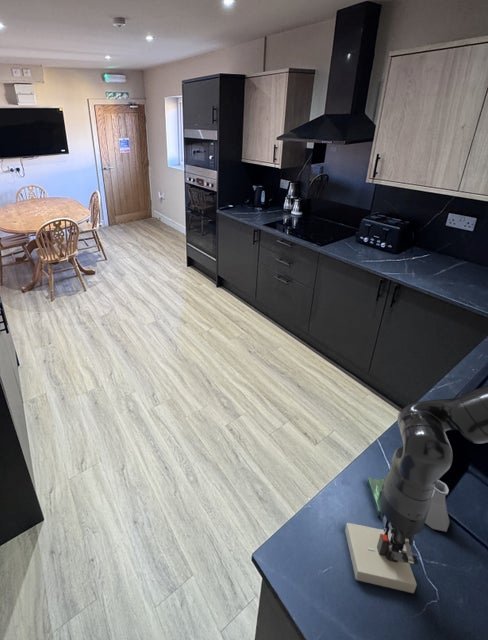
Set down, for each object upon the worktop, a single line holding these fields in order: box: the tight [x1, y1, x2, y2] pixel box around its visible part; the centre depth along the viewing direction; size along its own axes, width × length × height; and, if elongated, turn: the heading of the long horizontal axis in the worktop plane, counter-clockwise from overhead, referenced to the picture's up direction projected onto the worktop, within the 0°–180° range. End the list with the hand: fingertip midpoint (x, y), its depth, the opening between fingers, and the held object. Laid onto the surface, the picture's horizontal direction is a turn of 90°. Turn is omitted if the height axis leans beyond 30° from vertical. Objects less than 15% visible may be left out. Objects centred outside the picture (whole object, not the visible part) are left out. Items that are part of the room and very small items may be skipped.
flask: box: [424, 479, 451, 533], centre depth 77 cm, size 7×7×10 cm
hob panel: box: [344, 522, 418, 594], centre depth 70 cm, size 12×9×3 cm
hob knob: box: [377, 534, 389, 556], centre depth 69 cm, size 5×1×5 cm, turn 78°
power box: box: [366, 477, 386, 518], centre depth 81 cm, size 8×8×4 cm
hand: (389, 552), depth 69 cm, fingers closed
